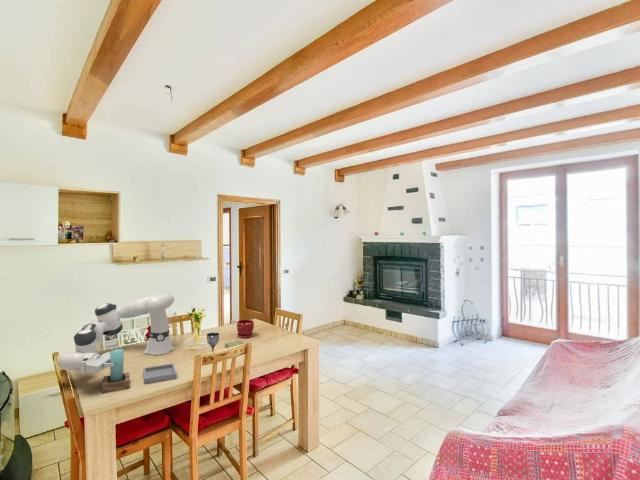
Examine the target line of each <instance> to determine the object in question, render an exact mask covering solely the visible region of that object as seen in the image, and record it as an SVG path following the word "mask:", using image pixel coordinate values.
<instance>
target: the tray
mask: <svg viewBox="0 0 640 480" xmlns="http://www.w3.org/2000/svg"><path fill="white" fill-rule="evenodd" d="M142 372H143V374H142V375H143V383H144V385H149V384H154V383H160V382H164V381H165V382H166V381H172V380H176V378H178V376H177V373H178V372H177V370H176V367H175V364H174V363H167V364H162V365H161V364H160V365H154V366H147V367H143V371H142ZM171 379H172V380H171Z"/></svg>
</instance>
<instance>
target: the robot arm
mask: <svg viewBox="0 0 640 480" xmlns="http://www.w3.org/2000/svg"><path fill="white" fill-rule="evenodd" d="M174 302H175V297H174V295H173V294H172V293H171V292H161V293H157V294H154V295H150V296H147V297H143V298H137V299H134V300H131V301H127V302H124V303H122V304H119V305H118V306H117V305H116V304H113V303H108V302H107V303H102V304H100V305H99V306H96V308H95V310H94V314H95V316H96V318H97V320H91V321H90V322H88V323H87V324H85V325H83V327H81V329H80V331H78V332H76V333H75V334H74V336H73V341H74V346H75V352H66V353H62V354H60V356H59V358H58V367H59V368H60V369H61V370H65V371H78V370H80V375H86V374H96V373H99V372H101V371H103V370H104V369H107V368H110V367H114V366H115V362H112V363H110V351H108V352H104V353H103V354H100V353H99V352H98V343H99V342H100V341H101V340H102V338H103V336H107V337H108V336H109V337H113V336H116V335H118V334H119V333H121V332H122V330H123V328H124V327H123V323H122V322H121V319H131V318H136V317H140V316H144V315H147V314H148V315H149V318H150V331H149V339H148V340H146V344H145V345H146V347H145V349H144V352H143V354H144V355H150V356H151V355H152V356H156V355H157V356H159V355H164V354H167V353H170V352H171V351H174V350H175V346H173V345H172V344H173V343H172V340H173V339H172V337H171V336H170V328H169V327H170V324H169V323H170V318H169V316H167V313H166V310H167V309H169V308H170V307H171V306H172V305H173V303H174Z"/></svg>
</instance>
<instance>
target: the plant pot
mask: <svg viewBox="0 0 640 480" xmlns="http://www.w3.org/2000/svg"><path fill="white" fill-rule="evenodd" d="M254 325H255V321H254V320H252V319H240V320H237V322H236V330H237V337H238V338H240V337H241V338H242V339H248V338H247V337H249V338H251V337H252V336H253V331H254V328H255V326H254Z"/></svg>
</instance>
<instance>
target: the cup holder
mask: <svg viewBox="0 0 640 480" xmlns="http://www.w3.org/2000/svg"><path fill="white" fill-rule="evenodd" d="M130 378H131V377H130V372H123V379H122V380H119V381H110V374H109V375H105V376H103V380H102V385H101V393H102V394H106V393H107V394H108V393H111V392H117V391H123V390H129V389H130V387H131V386H130V383H131V382H130Z"/></svg>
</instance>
